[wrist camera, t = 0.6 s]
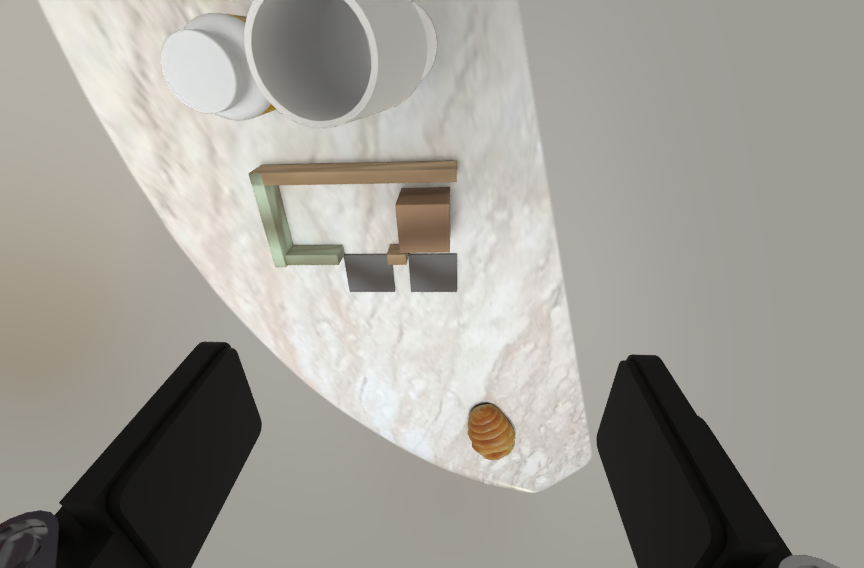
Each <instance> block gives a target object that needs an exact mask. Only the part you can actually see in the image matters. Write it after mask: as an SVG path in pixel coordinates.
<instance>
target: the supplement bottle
mask: <svg viewBox="0 0 864 568" xmlns="http://www.w3.org/2000/svg"><path fill="white" fill-rule="evenodd" d="M246 18H247V17H245V16H237V15H230V14H221V13H208V14H203V15H200V16H198V17H196V18H194V19H193V20H191V21H190V22H189V23H188V24H187V25H186V26H185V27H184V29H183V30H179V31H177V32H174V33H173V34H171V35H170V36H169V37H168V38H167V39H166V41H165V42H164V44H163V47H162V50H161V67H162V72H163V75H164V78H165V80H166V82H167V84H168V86H169V87H170V89H171V90H172V92H173V93H174V94H175V95H176V96H177V98H178V99H179V100H180V101H182V102H183V103H184V104H185V105H187V106H188V107H190V108H192V109H194V110H196V111H199V112H202V113H210V114H213V113H214V114H216V115H217V116H220V117H223V118H226V119H230V120H248V119H252V118H255V117H257V116H260V115H262V114H265V113H268V112H270V111H273V110H276V108H275V107H274V106H273V105H272V104H271V103H270V102H269V101H268V100H267V99H266V97H265V96H264V95H263V93H262V92H261V91H260V89H259V88H258V86H257V84H256V82H255V80H254V78H253V76H252V74H251V71H250V68H249V65H248V62H247V58H246V52H245V46H244V29H245V23H246Z"/></svg>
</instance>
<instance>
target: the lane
mask: <svg viewBox="0 0 864 568" xmlns="http://www.w3.org/2000/svg"><path fill="white" fill-rule="evenodd" d="M249 177H250V180H251V184H252V187H253V191H254V194H255V198H256V201H257V205H258V208H259V212H260V215H261V219H262V222H263V226H264V229H265V233H266V236H267V240H268V244H269V247H270V251H271V254H272V258H273V261H274V265H275V267H286V266H287V265H339V263H340V261H341V259H342V258H343V256H344V261H345V266H346V272H347V278H348V284H349V289H350V292H395V285H394V275H393V265H406V263H407V259H408V257H409V270H410V283H411V292H457V254H409V253H400V250H399V244H396V245H390V247H389V250H388V253H387V254H344V250H343V245H293V243H292V239H291V235H290V231H289V227H288V223H287V219H286V215H285V211H284V207H283V203H282V199H281V195H280V191H279V187H278V185H318V184H374V183H430V182H457V161H421V162H374V163H327V164H281V165H261V166H259V167H258V168H256V169H255V170H253V171H252V172H250V173H249Z"/></svg>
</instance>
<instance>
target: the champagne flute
mask: <svg viewBox="0 0 864 568" xmlns="http://www.w3.org/2000/svg"><path fill="white" fill-rule="evenodd" d="M244 46H245V52H246V58H247V62H248V65H249V68H250V71H251V74H252V76H253V78H254V80H255V82H256V84H257V86H258V88H259V89H260V91H261V92H262V93H263V95H264V96H265V97H266V99H267V100H268V101H269V102H270V103H271V104H272V105H273V106H274V107H275V108H276V109H277V110H278V111H279V112H281V113H282V114H283V115H285V116H286V117H287V118H289V119H291V120H293V121H295V122H297V123H299V124H302V125H306V126H309V127H315V128H329V127H336V126H339V125H342V124H345V123H348V122H351V121H354V120H357V119H360V118H363V117H366V116H369V115H372V114H375V113H378V112H381V111H384V110H387V109H390V108H392V107H395V106H397V105H399V104H400V103H402V102H403V101H405V100H406V99H407V98H408V97H409V96H410V95H411V94H412V93H413V92H414V90H415V89H416V87H417V86H418V84H419V83H420V81H421V80H422V79H423V78H424V77H425V76H426V75H427V74H428V72H429V71H430V69H431V68H432V65H433V63H434V61H435V56H436V51H437V40H436V33H435V30H434V26H433V24H432V22H431V20H430V18H429V17H428V15H427V14H426V12H425V11H424V10H423V9H422V8H421V7H420V6H418V5H417V4H415V3H414V2H412V1H410V0H253V2H252V4H251V6H250V9H249V11H248V14H247V18H246V23H245V29H244Z"/></svg>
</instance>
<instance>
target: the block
mask: <svg viewBox="0 0 864 568" xmlns="http://www.w3.org/2000/svg"><path fill="white" fill-rule="evenodd" d="M396 216H397V227H398V238H399V250H400V253H417V252H450V187H434V188H402V189H401V192H400V194H399V197H398V200H397V202H396Z"/></svg>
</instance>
